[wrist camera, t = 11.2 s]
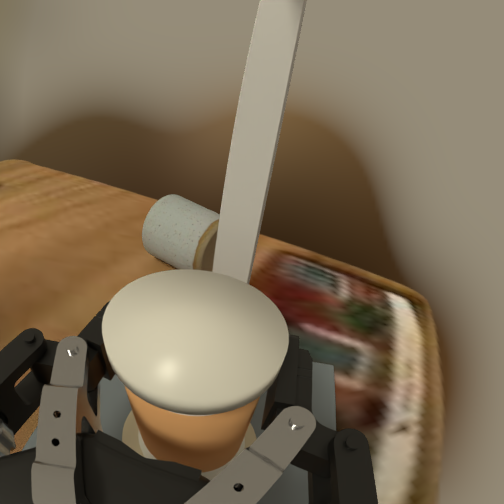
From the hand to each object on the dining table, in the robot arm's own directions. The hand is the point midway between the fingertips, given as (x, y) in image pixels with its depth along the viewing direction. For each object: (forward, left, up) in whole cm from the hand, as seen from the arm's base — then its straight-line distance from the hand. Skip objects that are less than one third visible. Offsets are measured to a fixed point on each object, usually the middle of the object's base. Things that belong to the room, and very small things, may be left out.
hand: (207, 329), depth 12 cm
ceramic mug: (-7, +20, -9) cm, 23 cm away
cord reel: (0, -2, -7) cm, 8 cm away
